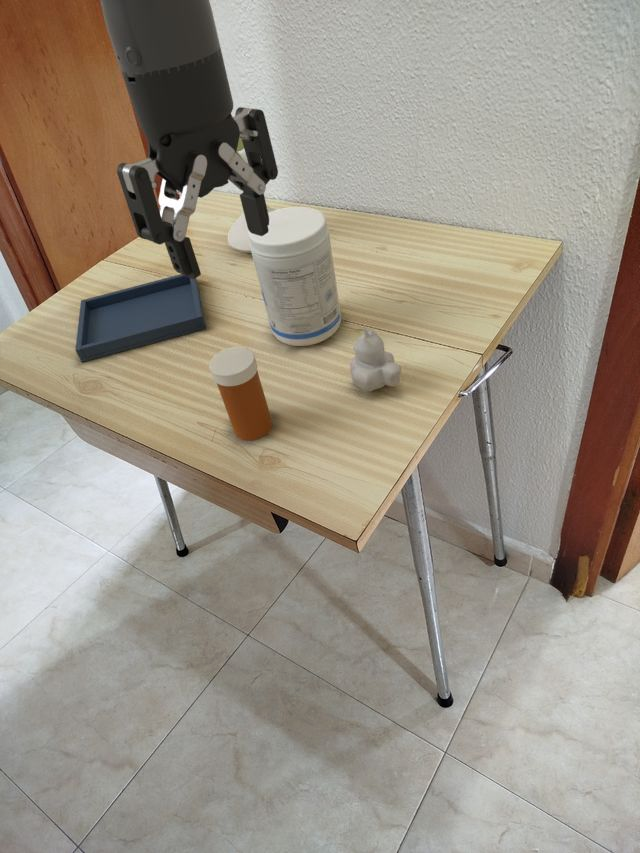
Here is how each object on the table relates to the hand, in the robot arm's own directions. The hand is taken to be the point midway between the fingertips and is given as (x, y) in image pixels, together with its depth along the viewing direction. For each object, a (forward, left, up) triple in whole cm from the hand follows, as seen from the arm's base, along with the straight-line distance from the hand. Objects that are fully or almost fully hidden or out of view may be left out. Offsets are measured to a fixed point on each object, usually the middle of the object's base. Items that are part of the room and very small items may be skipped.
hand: (226, 253), depth 54 cm
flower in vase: (+6, +41, -20) cm, 46 cm away
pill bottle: (-2, -2, -20) cm, 20 cm away
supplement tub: (+8, +14, -20) cm, 25 cm away
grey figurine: (+13, -1, -20) cm, 24 cm away
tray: (-14, +27, -20) cm, 36 cm away
